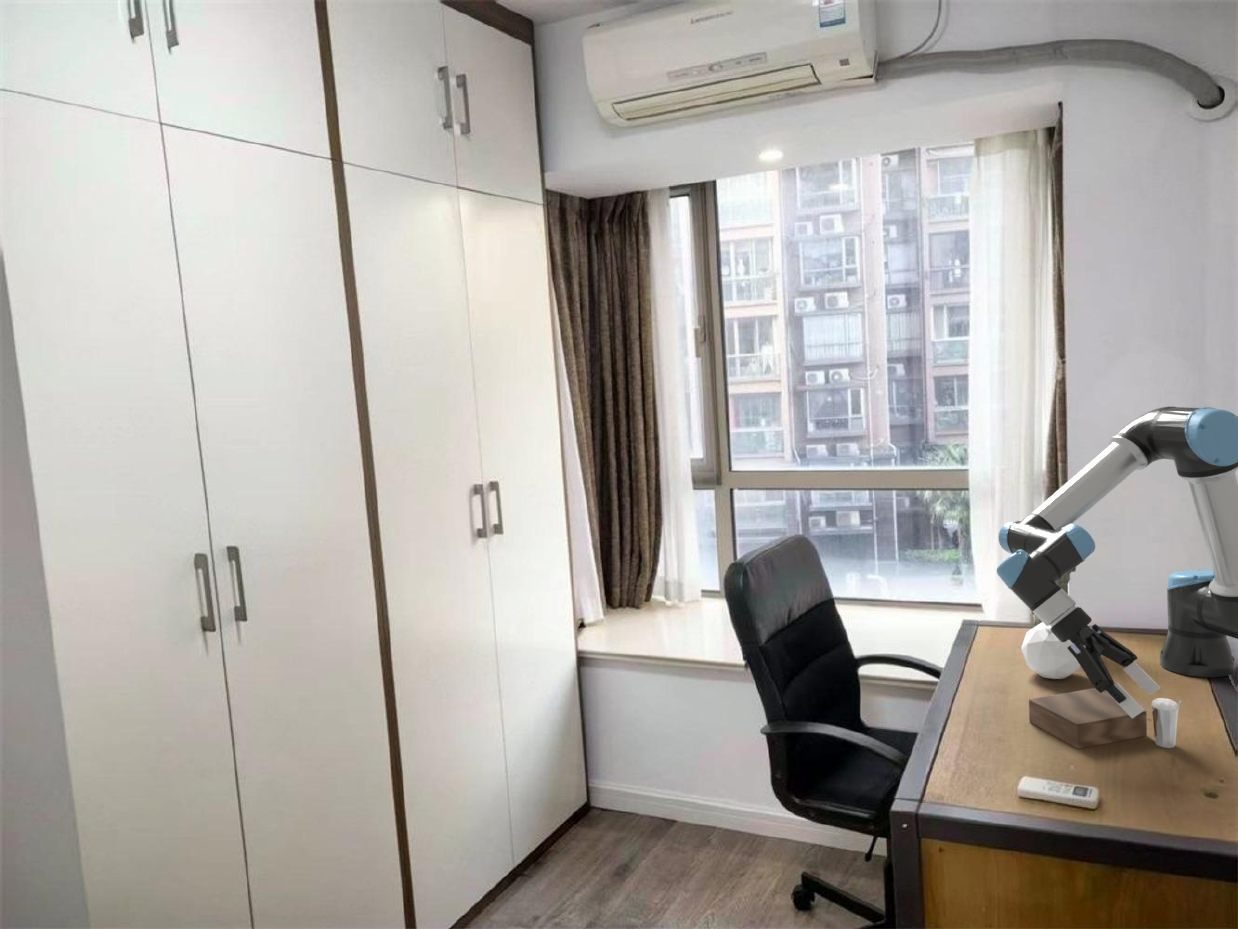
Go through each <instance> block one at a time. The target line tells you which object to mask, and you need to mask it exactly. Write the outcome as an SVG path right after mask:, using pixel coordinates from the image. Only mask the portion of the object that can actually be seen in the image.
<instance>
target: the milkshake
mask: <svg viewBox="0 0 1238 929" xmlns="http://www.w3.org/2000/svg"><path fill="white" fill-rule="evenodd" d="M1181 702H1182V699H1179V702H1178V703H1177V702H1176V701H1175V700H1173V699H1170V698H1166V697H1157V698H1155V699H1153V700H1152V701H1151V703H1150V704H1151V706H1150V707H1151V712H1152V713H1151V714H1152V720H1153V721H1152V722H1153V732H1154V741H1155V742H1154V743H1155V745H1156V746H1157V747H1160V748H1163V749H1173V748H1175V747H1176V742H1177V741H1176V740H1177V728H1178V727H1177V726H1178V718H1179V716H1178V715H1179V708H1180V704H1181Z"/></svg>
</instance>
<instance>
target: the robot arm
mask: <svg viewBox="0 0 1238 929" xmlns="http://www.w3.org/2000/svg"><path fill="white" fill-rule="evenodd" d="M1159 460H1173V462H1174V465H1175V468H1176V472H1177V476H1179V477H1180V478H1182V479H1184V480H1185V481H1188V486H1189V488H1190V492H1191V496H1192V499H1193V503H1194V507H1195V510H1196V511H1195V512H1196V514H1197V517H1198V521H1199V522H1198V523H1199V525H1200V529H1201V532H1202V536H1203V541H1204V544H1205V547H1206V551H1207V556H1208V560H1209V562H1210V566H1211V569H1191V570H1181V571H1176V572H1173V573H1171V574H1170V575H1169V577H1168V579H1167V580H1168V582H1167V588H1166V592H1167V627H1168V628H1167V634H1166V637H1165V640H1164V643H1163V646H1162V649H1161V650H1160V652H1159V664H1160V666H1161V667H1162V668H1164V669H1166V670H1168V671H1171V672H1174V673H1177V674H1181V675H1185V676H1190V677H1191V676H1192V677H1199V678H1222V677H1223V678H1224V677H1229V676H1230V675H1234V674H1235V673H1236V669H1237V668H1236V666H1237V664H1236V659H1235V657H1234V656H1233V654H1232V649H1231V646H1230V644H1229V641H1228V637H1231V638H1233V639H1236V640H1238V479H1237V475H1236V471H1238V415H1236V414H1235V413H1233V412H1231V411H1228V410H1225V409H1222V408H1221V409H1220V408H1219V409H1218V408H1216V407H1209V406H1208V407H1207V406H1206V407H1184V406H1183V407H1182V406H1163V407H1158V408H1154V409H1152V410H1150V411H1147V412H1145V413H1144V414H1142V415H1140V416H1138V417H1137V418H1135V419H1134V420H1132V421H1130V422H1129V423H1127V424H1126V425H1125V426H1123V427H1122V428H1121V429H1120V430H1119V431H1117V432H1116V433H1115V434H1114V435H1113V436H1111V437H1110V438H1109V440H1108V446H1107V447H1106V448H1105V449H1104V450H1103V451H1101V453H1099V454H1098V455H1097V456H1096V457H1094V458H1093V459H1092V460H1091V461H1090V462H1088V464H1086V465H1085V466H1084V467H1083V468H1082V469H1080V470H1079V471H1078V472H1077V473H1076V474H1074V476H1072V477H1071V478H1070V479H1068V481H1067V482H1065V483H1064V484H1062V486H1060V488H1058V489H1057V490H1056V491H1055V492H1054V493H1053V494H1051V496H1049V497H1048V498H1047V499H1045V501H1043V502H1042V503H1041V504H1040V505H1039V506H1038V507H1036V508H1035V509H1034V510H1033V511H1031V512H1030V513H1029V514H1028V515H1027V516H1026V517H1025V518H1023V519H1022V520H1021V521H1020V520H1013V521H1008V522H1006V523H1004V524H1003V526H1001V528H1000V530H999V532H998V542H999V545H1000V547H1001V548H1002V550H1004V551H1005V552H1006V553H1008V554H1011V555H1009V557H1007V558H1005V560H1004V561H1002V562H1001V563H1000V564H999V565H998V567H997V568H996V574H997V575H998V577H999V578H1000V579H1001V581H1003V583H1004V584H1005V585H1006V586H1007V588H1008V589H1009V590H1011V592H1012V593H1013V594H1014V595H1016V597H1017V598H1018V599H1020V601H1021V602H1023V604H1025V605H1026V606H1027V607H1028V608H1029V609H1030V611H1031V612H1032V613H1034V616H1035V615H1036V618H1037V619H1040V620H1041V621H1042V622H1043V623H1044V624H1045V625H1046V626H1049V625H1050V626H1051V627H1052V628H1051V632H1052V633H1053V634H1054V635H1055V636H1056V637H1057V638H1058V639H1059V640H1060V641H1061V642H1066V641H1067V640H1070V641H1071V642H1072V643H1073V644H1071V645H1070V646H1069V647H1068V650H1069V651H1070V652H1071V653H1072V655H1073V656H1074V657H1075V658H1076V660H1077V661H1078V663H1079V664H1080V668H1081V669H1082V671H1083V672H1084V673H1085V675H1086V676H1087V678H1088V679H1089V681H1090V682H1091V684H1092V685H1093V688H1095V689H1096V690H1098V691H1099V692H1100V693H1102V692H1105V693H1106V694H1108V695H1110V696H1111V697H1112V698H1113V699H1114V700H1115V701H1116V702H1117V703H1118V704H1119V705H1120V707H1121V708H1122V709H1123V710H1124V711H1125V712H1126V713H1127V714H1128V715H1129V716H1130V717H1131V718H1134V717H1135V716H1137V715H1138V714H1140V713H1141V712H1143V711H1145V708H1144V707H1143V706H1142V705H1140V704H1139V702H1137V700H1135V698H1134V697H1133V696H1131V694H1130V692H1128V691H1127V690H1126V689H1125V688H1124V687H1123V686H1122V685H1121V684H1120V683H1119V682H1118V681H1116V682H1115V680H1114V679H1113V677H1112V675H1111V674H1110V671H1109V669H1108V668H1107V666H1106V664H1105V662H1104V660H1103V658H1102V656H1103V657H1105V658H1107V659H1109V660H1111V661H1113V662H1115V664H1118V665H1120V666H1121V667H1123V671H1124V672H1125V673H1126V674H1127V675H1128V677H1129V678H1131V679H1132V681H1134V682H1135V683H1136V684H1137V685H1138V687H1140V689H1142V690H1143V692H1144V693H1146V694H1147V696H1151V695H1152V694H1154V693H1155V692H1158V690H1160V689H1161V686H1160V685H1159V684H1158V683H1157V682H1156V681H1155V680H1154V679H1153V678H1152V677H1151V676H1150V675H1149V674H1148V673H1147V672H1146V671H1145V670H1144V669H1143V668H1142V667H1141V665H1139V664H1138V663H1137V662H1136V661H1135V660H1137V659H1138V656H1137V655H1136V654H1135V653H1134V652H1133V651H1131V650H1130V649H1129V648H1128V647H1126V646H1124V644H1122V643H1120V641H1117V640H1116V639H1115V638H1114V637H1112V636H1111V635H1109V634H1108V633H1106V632H1105V631H1104V630H1103V629H1102V628H1100V626H1098V624H1096V623H1094V624H1093V625H1091V626H1090V627H1089V624H1090V623H1091V622H1092V620H1093V619H1092V618H1091V616H1089V614H1088V613H1087V612H1086V611H1084V610H1083V608H1082V607H1081V606H1076V604H1077V602H1076V601H1075V600H1074V599H1073V598H1072V597H1071V596H1070V595H1069V593H1068V594H1067V593H1066V592H1065V591H1064V590H1063V589H1061V587H1060V586H1059V585H1058V584H1057V583H1056V581H1058V580H1059V579H1061V577H1063V576H1064V575H1065V574H1067V573H1068V572H1069V571H1071V570H1072V569H1074V568H1075V567H1076V568H1077V566H1079V565H1080V564H1082V563H1083V562H1085V560H1086V559H1087V558H1088V557H1089V556H1090V555H1092V554H1093V553H1094V552H1095V550H1096V542H1095V540H1094V538H1093V537H1092V535H1091V534H1090V533H1089V532H1088V531H1087V530H1086V529H1085V528H1084V527H1082V526H1081V525H1079V524H1076V522H1077V520H1079V519H1080V518H1081V517H1082V516H1084V515H1085V514H1086V513H1087V512H1088V511H1090V510H1091V509H1092V507H1094V506H1096V505H1097V503H1098V502H1100V501H1101V500H1102V499H1104V498H1105V497H1106V496H1107V495H1108V494H1109V493H1110V492H1112V491H1113V490H1114V489H1115V488H1116V487H1117V486H1118V485H1120V484H1121V483H1122V482H1123V481H1124V480H1126V479H1127V478H1128V477H1129V476H1131V475H1132V474H1133V472H1135V471H1136V470H1138V471H1142V470H1144V469H1146V468H1148V466H1150V465H1151V464H1152V463H1154V462H1156V461H1159ZM1060 589H1061V590H1060ZM1056 592H1057V593H1056ZM1051 596H1052V597H1051ZM1046 600H1047V601H1046ZM1041 604H1042V605H1041ZM1037 607H1038V608H1037ZM1036 608H1037V609H1036Z"/></svg>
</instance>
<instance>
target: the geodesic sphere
mask: <svg viewBox="0 0 1238 929" xmlns="http://www.w3.org/2000/svg"><path fill="white" fill-rule="evenodd" d="M1051 628H1052V627H1051V626H1050V625H1049V626H1046V625H1045V624H1044V623H1043V622H1042V623H1040V624H1039V625H1037V626H1036V627H1034V628H1033V627H1032V628H1031V629H1029V630H1028V631H1026V634H1025V635H1024V639H1023V642H1022V645H1021V648H1020V651H1021V652H1022V655H1023V658H1024V661H1025V664H1026V666H1027V667H1028V668H1030V669H1031V670H1032V671H1034V672H1035V673H1036V674H1038V675H1039V676H1041V677H1042V678H1044V679H1052V680H1056V679H1057V680H1064V679H1067V678H1068V677H1069V676H1071V675H1072V674H1073V673H1076V672H1078V671H1079V670H1080V669H1081V666H1080V664H1079V663H1078V661H1077V660H1076V658H1075V657H1074V656H1073V655H1072V653H1071V652H1070V651H1069V650H1068V647H1069V646H1070V645H1071V644H1073V643H1072V642H1071V641H1070V640H1067V641H1066V642H1061V641H1060V640H1059V639H1058V638H1057V637H1056V636H1055V635H1054V634H1053V633H1052V632H1051Z"/></svg>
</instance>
